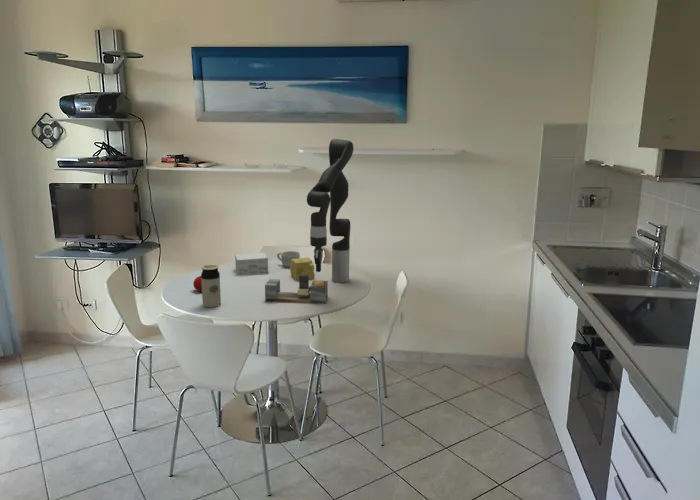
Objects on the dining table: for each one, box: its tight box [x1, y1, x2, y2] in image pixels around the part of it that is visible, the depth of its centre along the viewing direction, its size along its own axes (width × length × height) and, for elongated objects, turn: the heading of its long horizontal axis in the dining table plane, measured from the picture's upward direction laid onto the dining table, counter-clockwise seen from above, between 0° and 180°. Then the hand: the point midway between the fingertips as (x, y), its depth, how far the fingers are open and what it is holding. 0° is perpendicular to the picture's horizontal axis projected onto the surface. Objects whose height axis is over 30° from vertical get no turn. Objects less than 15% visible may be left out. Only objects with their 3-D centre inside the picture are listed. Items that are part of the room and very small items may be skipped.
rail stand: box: [264, 278, 329, 305], centre depth 243 cm, size 10×28×8 cm, turn 86°
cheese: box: [289, 256, 315, 282], centre depth 278 cm, size 10×11×10 cm
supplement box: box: [234, 252, 269, 277], centre depth 288 cm, size 17×13×9 cm
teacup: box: [276, 250, 301, 269], centre depth 301 cm, size 14×11×8 cm
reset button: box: [314, 280, 324, 286], centre depth 242 cm, size 5×5×4 cm
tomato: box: [193, 275, 202, 293], centre depth 254 cm, size 9×9×8 cm
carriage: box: [297, 274, 311, 295], centre depth 242 cm, size 7×5×8 cm
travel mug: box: [200, 264, 222, 308], centre depth 233 cm, size 8×8×18 cm
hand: (318, 271), depth 241 cm, fingers closed
